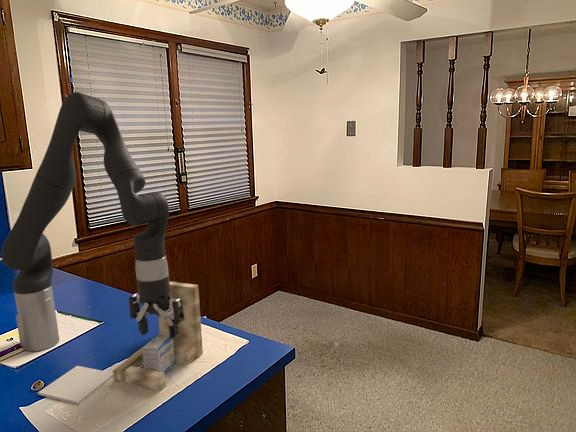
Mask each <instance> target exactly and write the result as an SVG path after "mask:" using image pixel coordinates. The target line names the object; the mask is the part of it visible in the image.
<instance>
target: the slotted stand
mask: <svg viewBox="0 0 576 432" xmlns="http://www.w3.org/2000/svg"><path fill="white" fill-rule="evenodd" d="M169 283H170V292H169V295H170V297H171V299H177V298H179V297H180V298H181V299H182V304H183V311H184V320H183V321H182V322H180V323H179V324H178V335H177V336H176V337H175V338H174V339H173V347H174V358H175V363H178V362H179V364H185V365H189V364H190V363H191V362H192V361H193V360H194V359H195V358H196V357H197V358H200V357H201V356H202V355H203V353H204V352H203V351H204V349H203V339H202V338H203V337H202V336H203V335H202V322H201V307H200V290H199V284H193V283H185V282H184V283H183V282H177V281H173V282H170V281H169ZM170 306H171V304H170ZM172 309H173V308H172ZM165 313H168V311H167V310H166V312H165ZM157 316H158V318H157V319H158V329H159V334H169V324H168V322H167V321H166V320H165V319H163V318H162V317H161V315H157ZM170 318H171V317H170ZM171 319H172V318H171ZM143 347H144V346H142V347H140V349H138V350H137V351H135V352H134V353H133V354H132V355H131V356H129V357H128V358H126V359H125V360H124V361H123V362H122V363H120V364H119V365H118V366H116V367H115V368H114V369H112V373H114V377H113V380H115V381H114V382H117V381H119V382H118V383H122V382H123V381H124V380H125V384H129V385H131V386H136V387H141V388H146V389H152V390H156V391H160V392H161V391H162V390H163V389H164V388H165V387H167V385H166V384H167V383H166V375H165V373H163V372H158V371H152V370H147V369H144V368H142V367H141V366H143V365H144V364H143V354H142V348H143ZM142 364H143V365H142ZM138 367H139V368H138Z"/></svg>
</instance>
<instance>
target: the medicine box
mask: <svg viewBox="0 0 576 432" xmlns="http://www.w3.org/2000/svg"><path fill="white" fill-rule="evenodd" d="M142 347H143V348H142ZM142 347H141V348H142V354H143V363H144V364H143V369H147V370H152V371H158V372H163V373H165V376H166V375H167V374H168V373H169V372H170V371H171V369H172V368H173V367H174V365H175V364H176V362H175V358H174V347H173V339H170V335H169V334H160V333H157V334H156V335H155V336H153V338H151V339H150V340H149V341H148V342H147V343H146V344H145V345H144V346H142ZM167 372H168V373H167Z"/></svg>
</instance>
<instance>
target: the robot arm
mask: <svg viewBox="0 0 576 432" xmlns="http://www.w3.org/2000/svg"><path fill="white" fill-rule="evenodd" d="M59 108H60V109H59V112H58V115H57V118H56V122H55V124H54V129H53V131H52V135H51V138H50V141H49V143H48V146H47V148H46V151H45V153H44V156H43V159H42V161H41V163H40V165H39V167H38V169H37V171H36V173H35V176H34V178H33V181H32V183H31V185H30V188H29V191H28V193H27V196H26V198H25V200H24V203H23V204H22V207H21V210H20V213H19V215H18V216H17V219H16V221H15V222H14V225H13V226H12V227H11V230H10V232H9V233H8V235H7V236H6V238H5V240H4V242H3V243H2V246H1V249H0V250H1V251H0V256H1V261H2V262H3V264H4V265H5V267H7V268H8V269H10V270H12V271H13V270H15V271H19V272H18V274H17V276H16V277H15V279H14V281H13V283H12V285H13V286H12V287H13V292H14V299H15V304H16V305H15V306H16V310H17V311H16V312H17V314H16V315H15V320H16V325H17V330H18V331H17V332H18V337H19V343H20V347H22V348H23V350H24V351H27V352H38V351H43V350H46V349H50V348H51V347H53V346H55V345H57V344H58V343H59V341H60V335H59V328H58V320H57V314H56V306H55V300H54V293H53V292H54V291H53V286H52V277H53V274H54V271H53V268H54V267H53V257H52V249H51V244H50V241H49V240H48V237H47V236H46V235H45V234H44V232H45V230H46V228H47V227H48V225H49V224H50V223H51V222H52V221H53V220H54V218H56V216H57V215H58V214H59V212H60V211H61V210H63V207H64V206H65V204H66V203H67V202H68V200H69V198H70V196H71V193H72V191H73V189H74V188H75V184H76V183H77V182H76V181H77V169H76V165H75V160H74V155H73V154H74V153H73V150H74V145H75V142H76V139H77V137H78V135H79V133H80V132H83V133H84V132H85V133H88V134H94V136H96V137H97V139H98V140H99V141H100V142H101V144H102V146H103V148H104V154H103V165H104V166H103V167H104V169H105V172H106V174H107V176H108V177H109V179H110V181H111V182H112V184H113V186H114V188H115V189H116V192H117V196H118V200H119V203H120V204H119V205H120V210H121V215H122V217H123V219H124V221H125V222H127V223H128V224H129V225H132V226H142V225H146V224H147V227H146V229H144V230H143V231H141V232H140V233H138V234H136V235H135V236H134V237H133V248H134V258H135V274H136V275H135V276H136V277H135V278H136V286H137V292H135V293H133V294H132V295H130V296H129V298H128V306H129V316H130V318H131V319H135V320H136V321H137V323H138V330H139V333H140V335H142V336H145V335H146V334H147V333H148V332H149V324H148V318H147V316H148V315H156V316H158V315H161V317H162V318H163V319H165V320H166V321H167V322H168V324H169V335H170V339H174V338H175V337H176V336H177V335H178V324H179V323H180V322H182V321H183V320H184V311H183V304H182V299H181V298H180V297H179V298H177V299H171V297H170V295H169V292H170V283H169V282H170V276H169V275H170V274H169V265H168V260H167V255H166V245H165V244H166V243H165V237H166V232H167V226H168V219H169V215H170V206H169V202H168V200H167V197H165V195H164V194H163V193H161V192H158V191H154V192H153V191H152V192H148V193H140V194H138V193H139V192H141V191H142V190H143V189H144V188H145V186H146V179H145V176H144V175H143V173H142V172H141V170H140V168H139V167H138V165H137V163H136V162H135V159H133V157H132V155H131V153H130V151H129V149H128V147H127V145H126V143H125V140H124V138H123V135H122V133H121V130H120V128H119V125H118V123H117V119H116V116H115V114H114V112H113V110H112V108H111V107H110V105H109V104H108V103H107V101H104V100H102V99H100V98H98V97H95V96H91V95H89V94H87V93H86V94H85V93H83V92H78V91H72V92H71V93H69V94H68V95H67V96H66V97H65V98H64V99H63V101H62V103H61V106H60V107H59ZM170 304H171V306H170ZM140 305H142V307H141V306H140ZM172 308H173V309H172ZM166 310H167V311H168V313H165V312H166ZM170 317H171V318H172V319H171V318H170Z"/></svg>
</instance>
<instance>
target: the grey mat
mask: <svg viewBox="0 0 576 432" xmlns="http://www.w3.org/2000/svg"><path fill="white" fill-rule="evenodd" d="M113 376H114V373H113V372H110V371H106V370H100V369H96V368H90V367H85V366H81V365H76V366H75V367H74V368H72V369H70V370H68V371H67V372H66V373H64V374H63V375H61V376H60V377H59V378H57V379H55V380H54V381H52V382H51V383H50V384H48V385H46V386H45V387H43V389H40V390H39V391H38V392H37V394H38V395H39V396H43V397H47V398H50V399H55V400H60V401H63V402H68V403H71V404H77V405H80V404H81V403H82V402H83V401H85V400H86V399H87V398H88V397H90V396H91V395H92V394H94V393H95V392H96V391H97V390H98V389H100V388H101V387H102V386H104V385H105V384H106V383H108V382H109V381H110V380H111V379H112V378H114V377H113ZM110 378H111V379H110ZM109 379H110V380H109ZM108 380H109V381H108ZM103 384H104V385H103Z"/></svg>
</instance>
